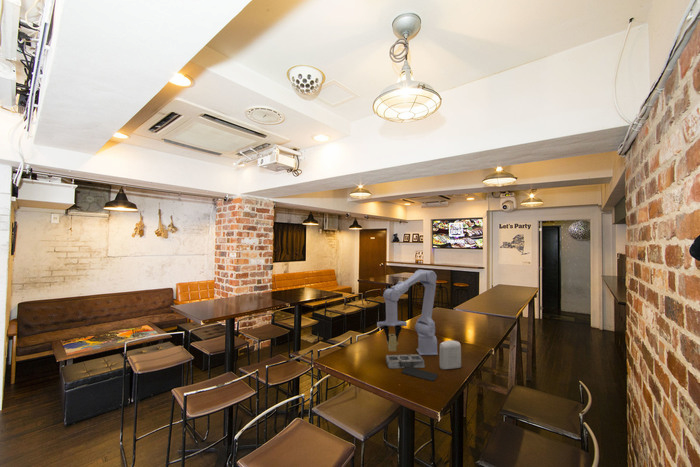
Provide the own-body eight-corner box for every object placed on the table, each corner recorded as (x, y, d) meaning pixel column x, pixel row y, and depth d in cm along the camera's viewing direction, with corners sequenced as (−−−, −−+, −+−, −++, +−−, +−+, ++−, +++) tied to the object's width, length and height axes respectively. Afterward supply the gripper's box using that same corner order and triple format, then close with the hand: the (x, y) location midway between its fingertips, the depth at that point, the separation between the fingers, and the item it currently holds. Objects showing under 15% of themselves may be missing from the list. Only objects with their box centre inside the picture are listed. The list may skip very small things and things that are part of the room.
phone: (433, 381, 118) (400, 372, 127) (433, 383, 118) (400, 374, 127) (438, 374, 125) (406, 366, 133) (438, 376, 125) (406, 367, 133)
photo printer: (457, 364, 135) (456, 338, 136) (462, 368, 131) (462, 341, 132) (438, 366, 133) (437, 340, 133) (443, 370, 129) (442, 343, 129)
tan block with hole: (396, 347, 141) (395, 333, 142) (398, 351, 136) (398, 336, 137) (386, 347, 141) (386, 333, 141) (388, 351, 136) (387, 336, 136)
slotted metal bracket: (419, 360, 140) (419, 354, 140) (424, 367, 132) (424, 361, 132) (385, 361, 139) (385, 355, 140) (388, 368, 131) (388, 362, 132)
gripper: (378, 315, 135) (378, 344, 135) (407, 315, 136) (408, 343, 135) (376, 312, 142) (376, 339, 142) (404, 311, 143) (405, 338, 142)
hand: (392, 340), depth 139 cm, fingers closed on tan block with hole, 4 cm apart
